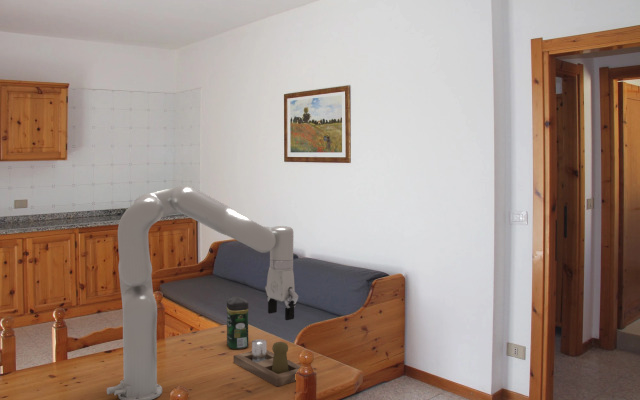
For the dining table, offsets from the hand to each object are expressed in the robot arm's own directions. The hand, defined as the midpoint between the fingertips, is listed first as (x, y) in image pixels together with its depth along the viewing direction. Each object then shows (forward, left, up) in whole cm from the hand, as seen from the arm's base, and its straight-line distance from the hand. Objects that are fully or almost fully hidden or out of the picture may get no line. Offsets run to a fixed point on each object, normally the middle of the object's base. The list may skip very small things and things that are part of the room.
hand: (280, 316), depth 179 cm
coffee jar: (+4, +34, -20) cm, 40 cm away
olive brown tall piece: (0, 0, -20) cm, 20 cm away
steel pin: (0, +13, -20) cm, 24 cm away
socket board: (0, +6, -20) cm, 21 cm away
